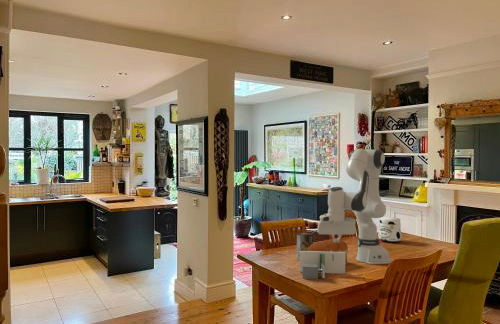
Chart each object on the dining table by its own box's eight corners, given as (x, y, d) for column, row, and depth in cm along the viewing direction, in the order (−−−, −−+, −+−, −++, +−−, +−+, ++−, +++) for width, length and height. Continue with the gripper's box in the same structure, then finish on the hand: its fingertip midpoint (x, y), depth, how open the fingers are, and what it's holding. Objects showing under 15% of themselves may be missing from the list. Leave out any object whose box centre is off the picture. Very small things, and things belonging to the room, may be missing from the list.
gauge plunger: (322, 271, 211) (322, 254, 211) (324, 278, 199) (324, 259, 199) (301, 271, 212) (301, 253, 212) (303, 277, 200) (303, 259, 200)
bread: (331, 258, 242) (331, 236, 241) (348, 263, 232) (348, 239, 232) (306, 266, 225) (306, 241, 225) (323, 270, 216) (323, 245, 216)
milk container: (378, 242, 288) (378, 219, 288) (377, 238, 305) (378, 216, 305) (402, 244, 283) (402, 220, 283) (400, 239, 300) (400, 217, 300)
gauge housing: (344, 273, 212) (345, 252, 211) (348, 279, 200) (349, 257, 199) (299, 271, 213) (299, 250, 213) (300, 278, 201) (301, 256, 201)
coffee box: (309, 256, 246) (309, 232, 246) (313, 259, 240) (313, 234, 239) (296, 257, 243) (296, 233, 243) (300, 260, 237) (300, 235, 237)
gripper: (354, 216, 205) (354, 241, 205) (316, 216, 206) (317, 240, 206) (356, 218, 198) (357, 243, 199) (318, 218, 200) (318, 243, 200)
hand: (336, 242), depth 202 cm, fingers closed
